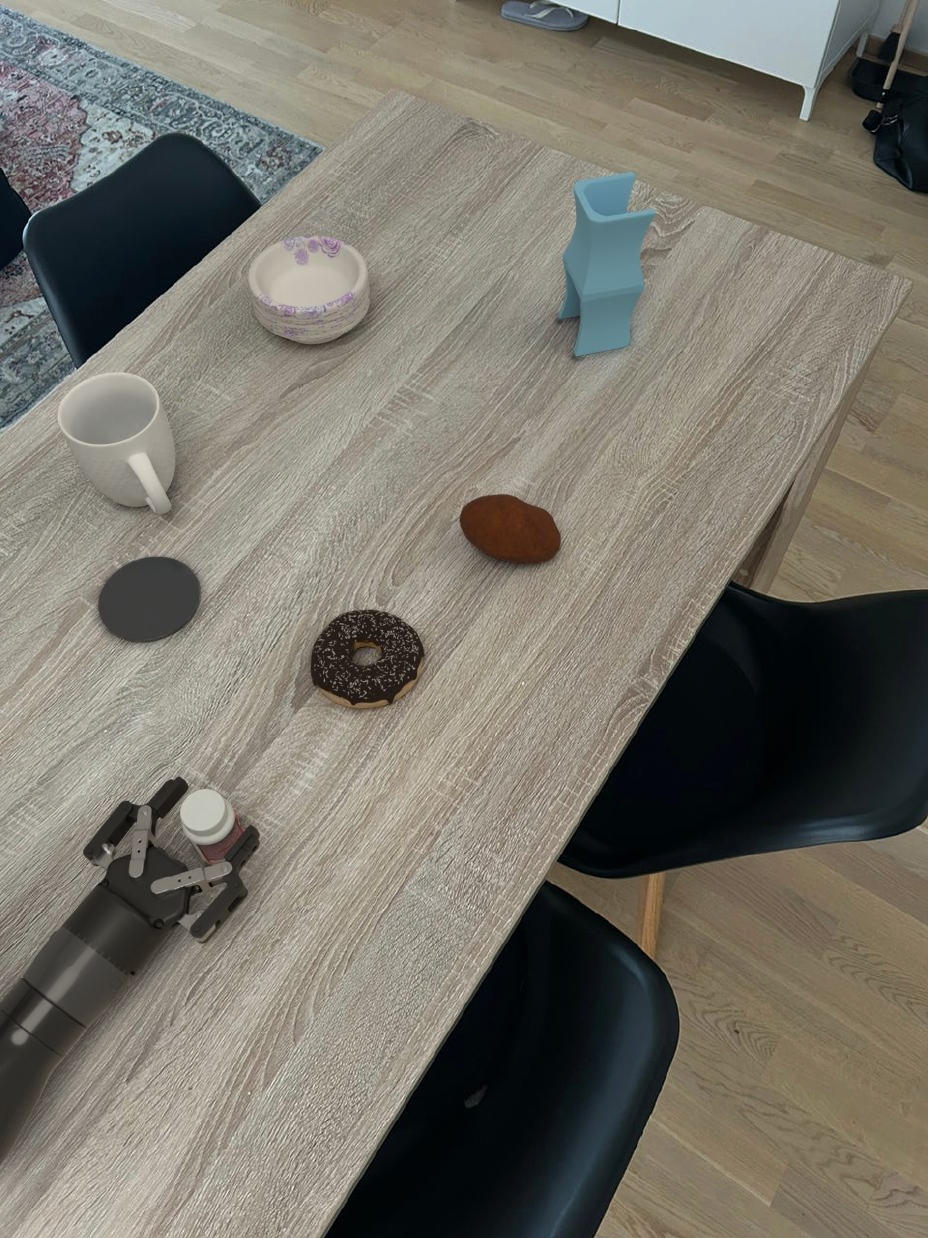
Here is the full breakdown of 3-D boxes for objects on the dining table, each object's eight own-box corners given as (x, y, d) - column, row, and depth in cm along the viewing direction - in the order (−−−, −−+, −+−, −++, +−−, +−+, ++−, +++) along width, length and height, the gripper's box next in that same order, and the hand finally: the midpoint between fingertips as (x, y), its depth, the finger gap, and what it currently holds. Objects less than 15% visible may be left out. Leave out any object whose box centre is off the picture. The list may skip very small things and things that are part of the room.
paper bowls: (352, 269, 143) (346, 220, 136) (387, 343, 135) (383, 294, 128) (244, 297, 140) (233, 247, 133) (274, 373, 132) (263, 325, 126)
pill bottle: (256, 832, 100) (240, 798, 93) (228, 875, 98) (209, 844, 91) (215, 810, 101) (196, 775, 94) (186, 852, 99) (164, 820, 92)
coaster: (88, 640, 112) (86, 637, 111) (112, 556, 117) (111, 554, 117) (189, 645, 111) (188, 642, 111) (209, 561, 117) (208, 558, 116)
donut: (314, 625, 112) (309, 605, 109) (423, 619, 113) (422, 599, 109) (312, 716, 106) (307, 698, 103) (427, 710, 107) (426, 692, 103)
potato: (553, 585, 115) (558, 542, 108) (451, 568, 116) (450, 525, 109) (563, 531, 119) (569, 486, 112) (465, 515, 120) (464, 470, 113)
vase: (633, 345, 135) (657, 212, 118) (575, 356, 134) (590, 223, 117) (614, 305, 139) (634, 170, 122) (557, 315, 138) (569, 181, 121)
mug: (219, 516, 120) (193, 439, 109) (132, 560, 117) (96, 486, 106) (162, 436, 127) (133, 356, 116) (78, 476, 124) (39, 398, 113)
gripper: (49, 921, 93) (171, 781, 100) (167, 1014, 89) (286, 860, 96) (18, 896, 87) (151, 748, 94) (144, 994, 83) (273, 831, 90)
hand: (219, 805), depth 95 cm, fingers open, 8 cm apart
